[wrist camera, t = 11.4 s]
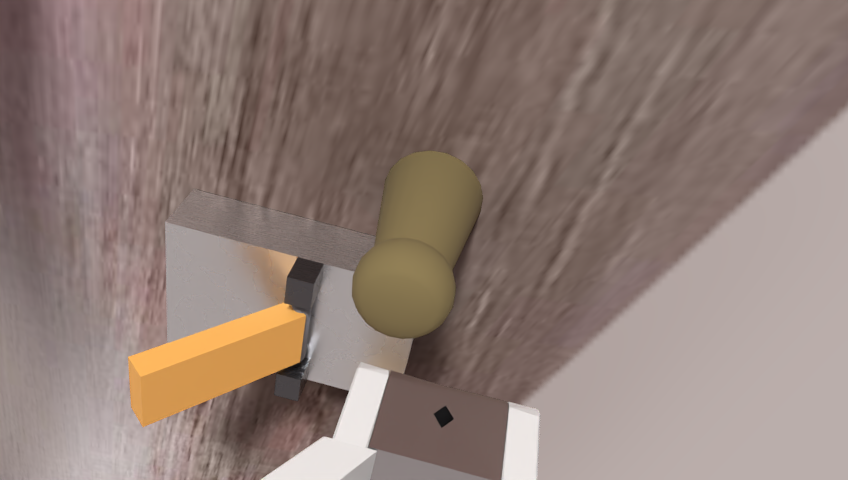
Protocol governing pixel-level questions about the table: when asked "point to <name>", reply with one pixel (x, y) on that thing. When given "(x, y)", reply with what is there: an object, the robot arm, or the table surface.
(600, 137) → the table surface
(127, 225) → the table surface
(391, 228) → the olive knobbed post
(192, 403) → the lever
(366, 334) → the breaker box
